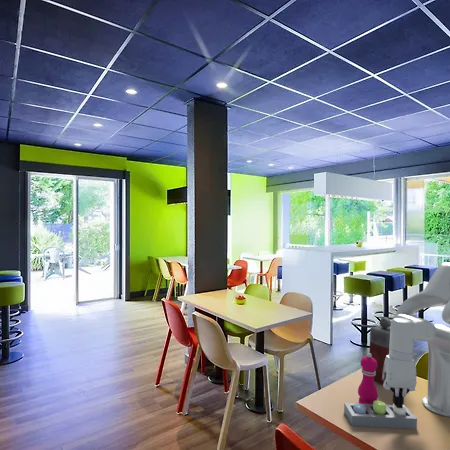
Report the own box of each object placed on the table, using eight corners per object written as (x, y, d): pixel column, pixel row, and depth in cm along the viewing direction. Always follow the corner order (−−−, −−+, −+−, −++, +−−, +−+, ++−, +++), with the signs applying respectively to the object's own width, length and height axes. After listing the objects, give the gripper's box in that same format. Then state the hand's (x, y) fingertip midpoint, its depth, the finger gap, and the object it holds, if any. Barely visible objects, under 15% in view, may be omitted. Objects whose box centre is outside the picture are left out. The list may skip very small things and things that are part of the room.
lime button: (382, 411, 119) (382, 400, 119) (387, 418, 115) (387, 407, 115) (371, 411, 119) (371, 400, 119) (375, 417, 115) (376, 406, 115)
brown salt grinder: (401, 381, 147) (403, 318, 146) (387, 387, 140) (389, 322, 140) (382, 373, 154) (384, 313, 154) (368, 378, 148) (370, 317, 147)
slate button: (362, 414, 119) (363, 403, 119) (367, 421, 115) (367, 410, 115) (351, 414, 119) (351, 403, 119) (355, 421, 115) (355, 409, 115)
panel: (404, 415, 120) (404, 405, 120) (416, 428, 112) (417, 418, 112) (344, 412, 121) (344, 402, 121) (351, 425, 113) (352, 415, 113)
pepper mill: (379, 411, 122) (381, 357, 122) (359, 408, 124) (361, 355, 124) (375, 400, 130) (376, 350, 129) (355, 398, 131) (357, 348, 131)
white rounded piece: (402, 413, 118) (402, 402, 118) (407, 420, 114) (408, 409, 114) (390, 413, 119) (391, 402, 118) (396, 420, 115) (396, 408, 114)
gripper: (416, 351, 120) (413, 401, 120) (374, 348, 120) (372, 398, 120) (428, 360, 112) (425, 413, 112) (384, 357, 113) (381, 410, 113)
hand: (397, 405), depth 116 cm, fingers closed
